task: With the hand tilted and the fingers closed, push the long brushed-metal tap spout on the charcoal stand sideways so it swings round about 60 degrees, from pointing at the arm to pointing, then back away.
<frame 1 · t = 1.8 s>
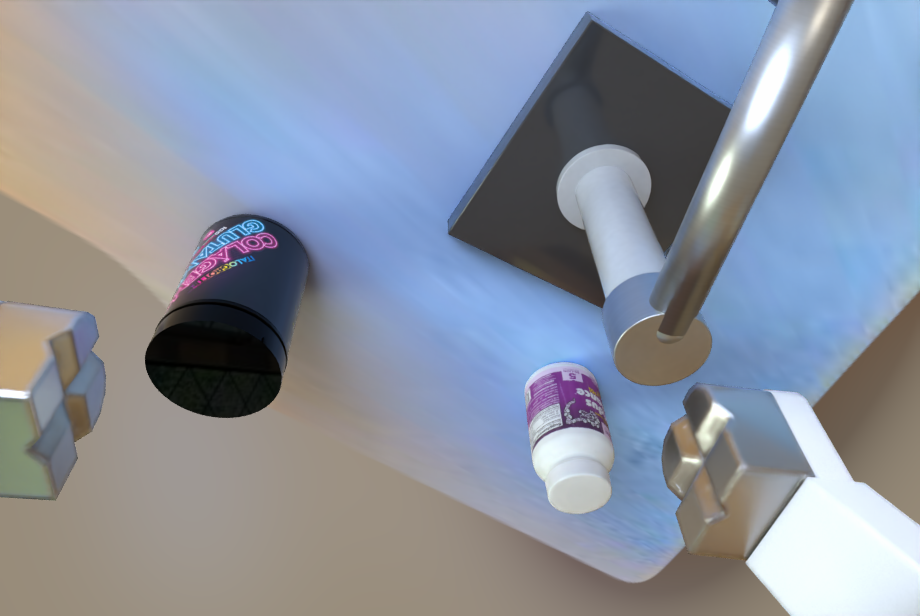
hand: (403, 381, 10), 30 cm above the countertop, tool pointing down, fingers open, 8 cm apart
tap stand: (597, 174, 41), on the countertop
supplement container: (256, 253, 44), on the countertop
spout: (712, 189, 27), point 14 cm above the countertop, hinge at 0.0°
pill bottle: (559, 383, 52), on the countertop
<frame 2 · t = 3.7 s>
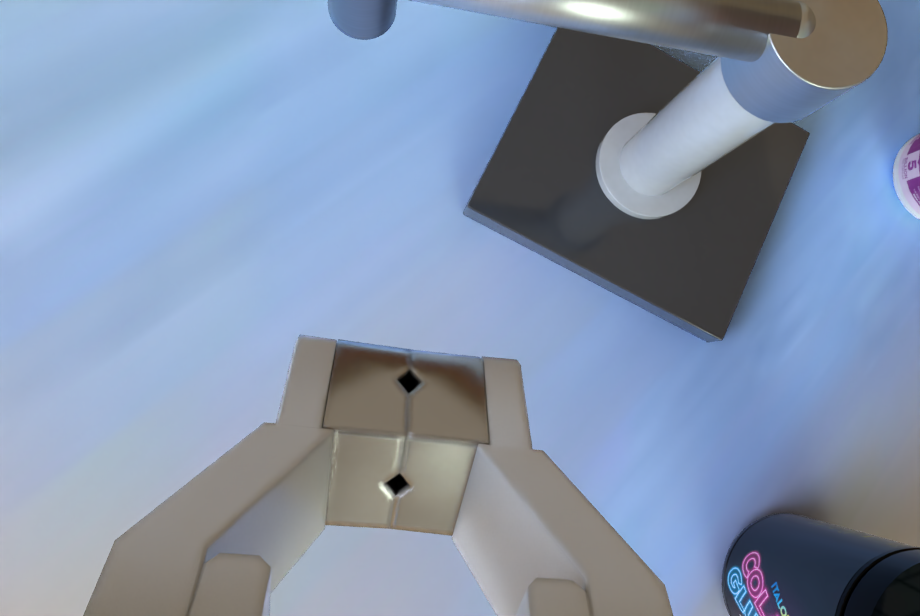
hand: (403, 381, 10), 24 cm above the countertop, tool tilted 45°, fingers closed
tap stand: (634, 177, 37), on the countertop
supplement container: (776, 579, 35), on the countertop
spout: (599, 17, 22), point 13 cm above the countertop, hinge at 0.0°
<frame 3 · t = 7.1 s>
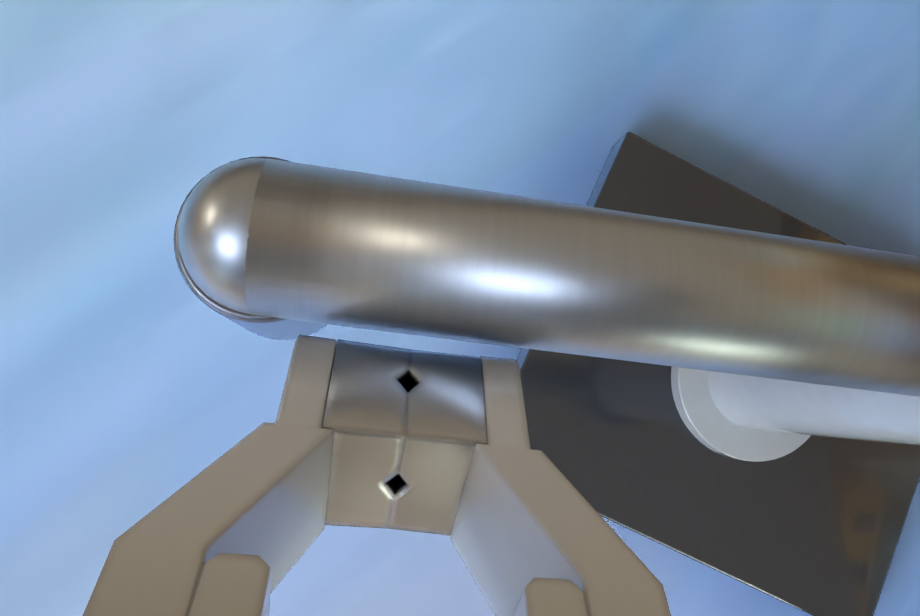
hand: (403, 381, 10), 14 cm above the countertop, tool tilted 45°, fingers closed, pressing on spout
tap stand: (722, 381, 25), on the countertop
spout: (760, 317, 11), point 14 cm above the countertop, hinge at -1.2°, touching gripper
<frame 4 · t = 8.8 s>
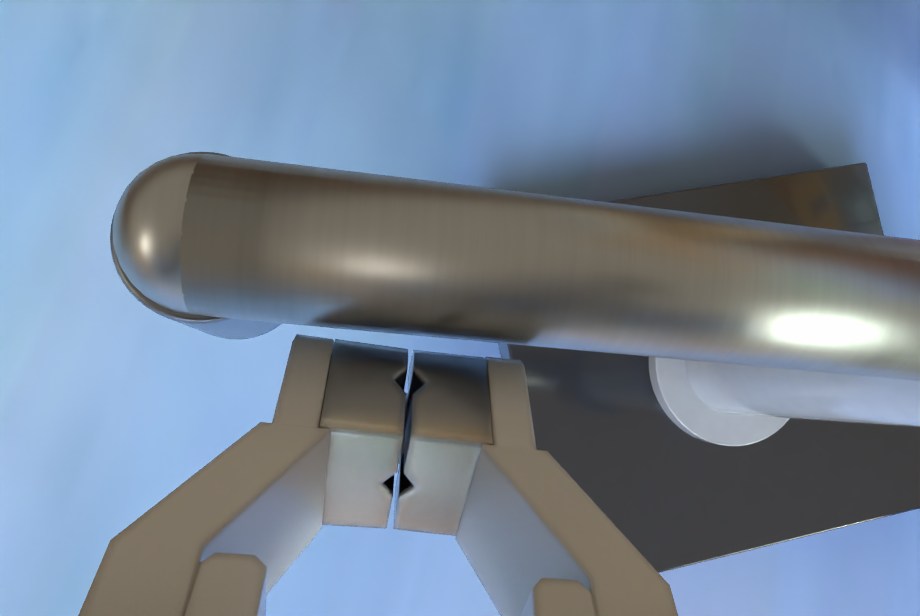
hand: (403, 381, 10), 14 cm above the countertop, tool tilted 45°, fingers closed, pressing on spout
tap stand: (701, 366, 25), on the countertop
spout: (721, 302, 11), point 14 cm above the countertop, hinge at -35.3°, touching gripper
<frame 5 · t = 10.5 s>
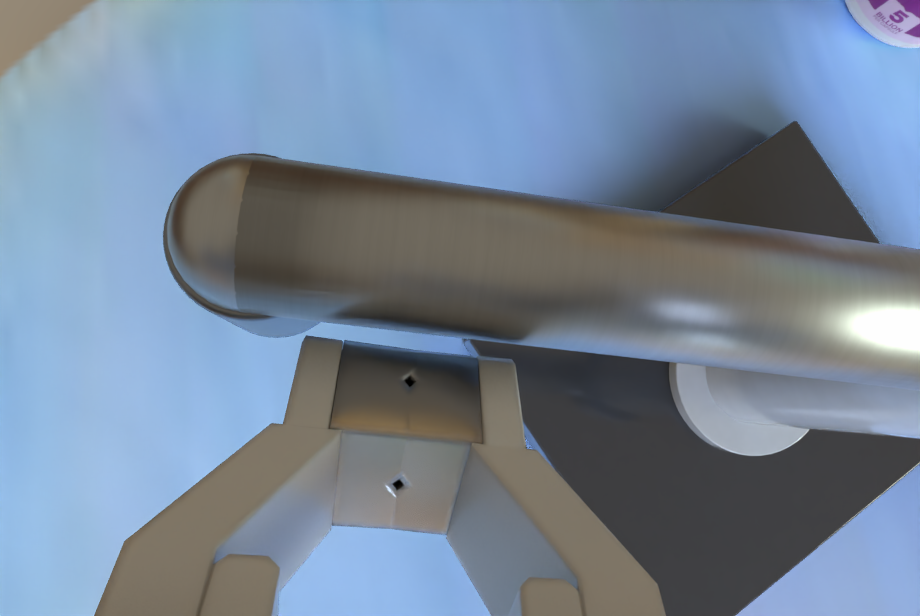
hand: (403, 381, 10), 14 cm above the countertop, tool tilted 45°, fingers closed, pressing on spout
tap stand: (720, 375, 25), on the countertop
spout: (755, 312, 11), point 13 cm above the countertop, hinge at -60.0°, touching gripper
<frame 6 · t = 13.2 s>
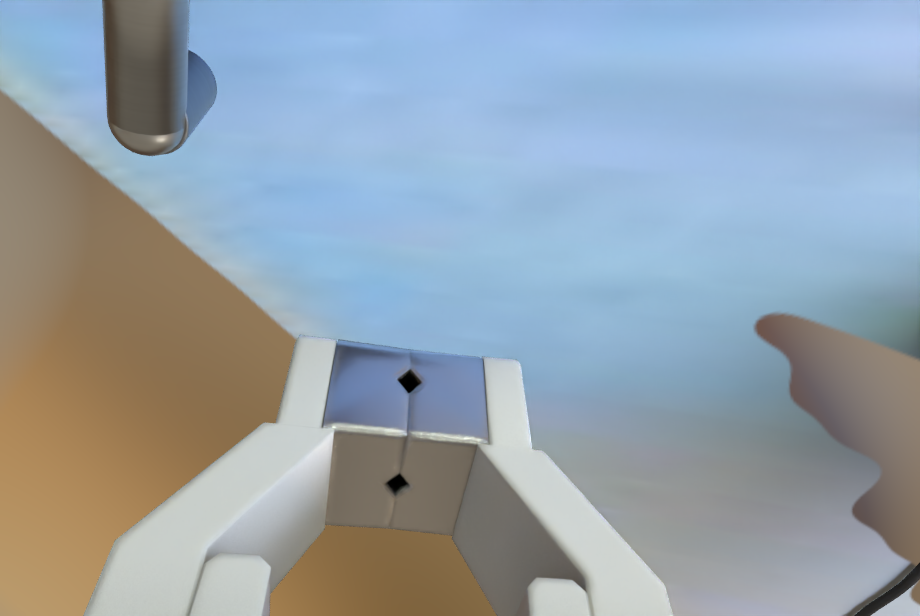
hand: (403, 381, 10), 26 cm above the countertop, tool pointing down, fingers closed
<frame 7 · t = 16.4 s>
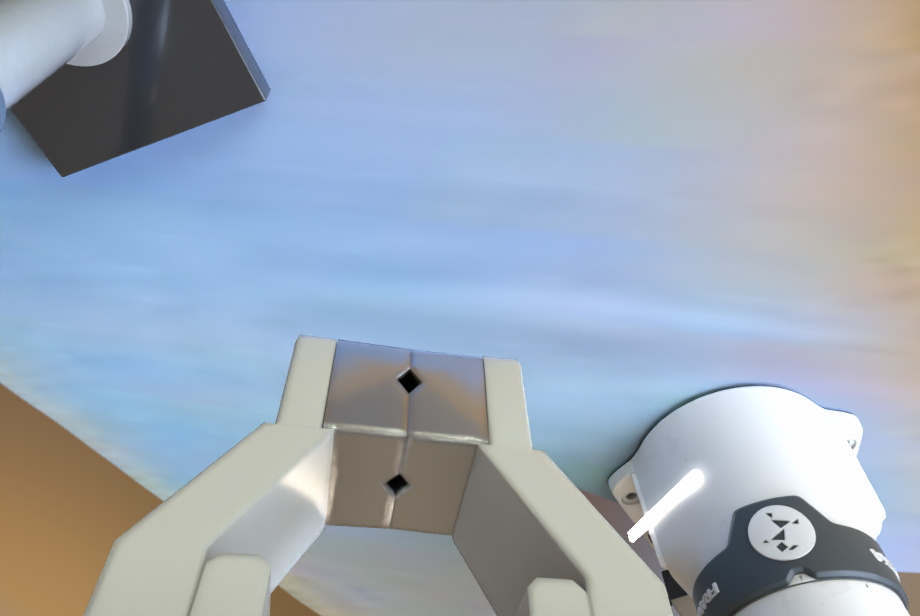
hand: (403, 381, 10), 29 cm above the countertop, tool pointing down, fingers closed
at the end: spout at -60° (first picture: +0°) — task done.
